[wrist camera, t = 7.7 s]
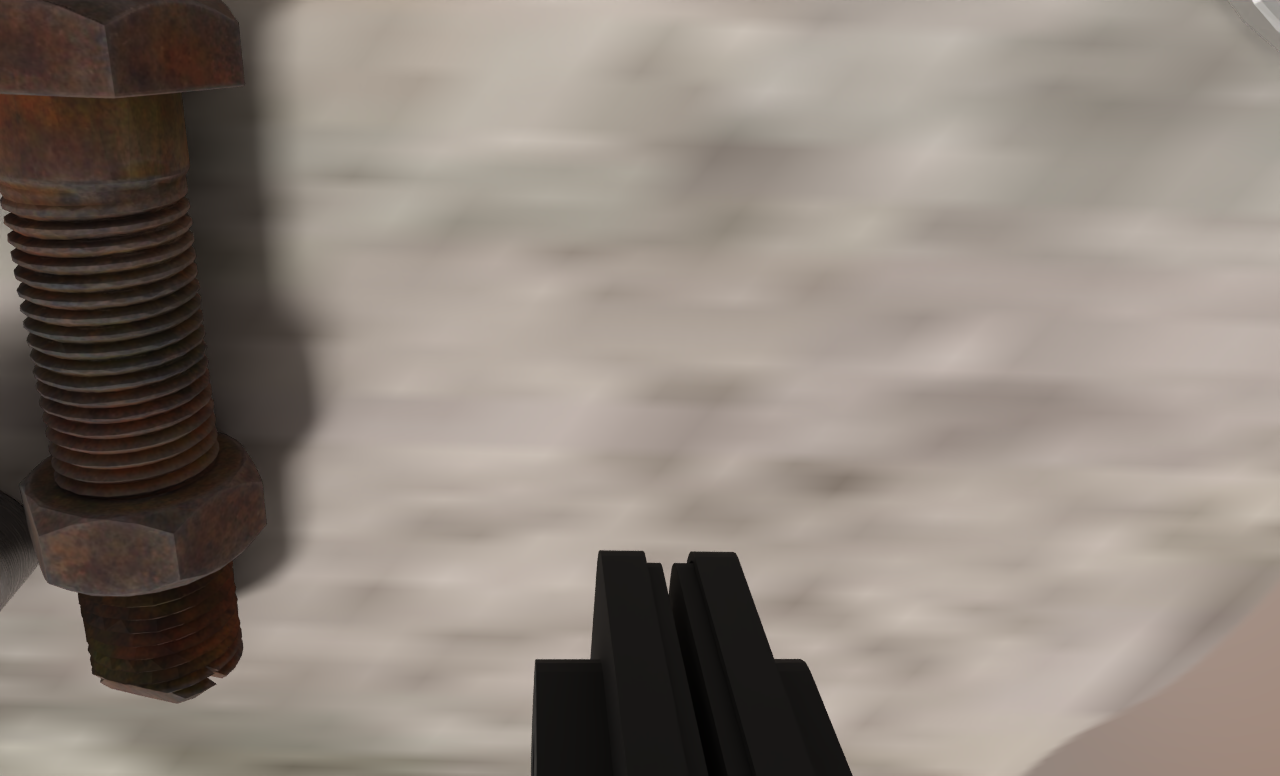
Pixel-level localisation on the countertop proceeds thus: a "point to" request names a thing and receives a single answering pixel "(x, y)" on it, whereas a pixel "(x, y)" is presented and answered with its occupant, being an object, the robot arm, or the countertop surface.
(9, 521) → the peg
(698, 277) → the countertop surface
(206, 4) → the bolt
